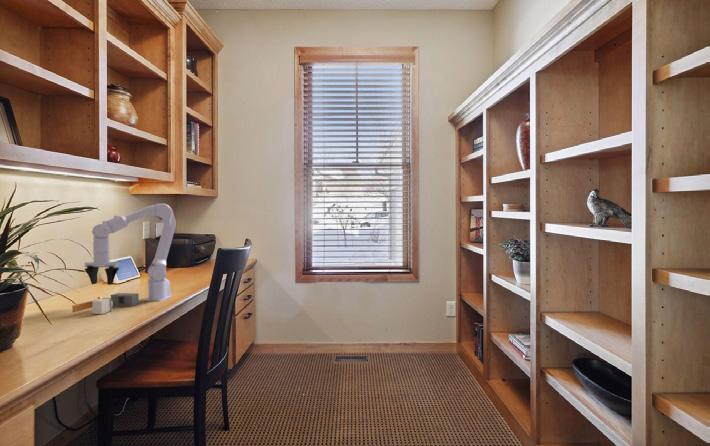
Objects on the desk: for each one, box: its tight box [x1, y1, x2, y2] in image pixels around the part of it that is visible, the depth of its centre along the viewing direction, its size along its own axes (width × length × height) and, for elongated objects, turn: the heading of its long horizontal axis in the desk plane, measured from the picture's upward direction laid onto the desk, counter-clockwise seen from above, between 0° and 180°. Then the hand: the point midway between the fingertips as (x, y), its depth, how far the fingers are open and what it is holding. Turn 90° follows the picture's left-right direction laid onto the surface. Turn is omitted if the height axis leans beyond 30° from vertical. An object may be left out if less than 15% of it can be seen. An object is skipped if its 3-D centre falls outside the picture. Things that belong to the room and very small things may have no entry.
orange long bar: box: [71, 296, 103, 313], centre depth 158 cm, size 12×1×4 cm, turn 165°
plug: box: [91, 297, 114, 315], centre depth 158 cm, size 7×4×5 cm, turn 172°
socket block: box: [110, 292, 140, 307], centre depth 167 cm, size 11×11×5 cm
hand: (102, 284), depth 168 cm, fingers open, 7 cm apart
